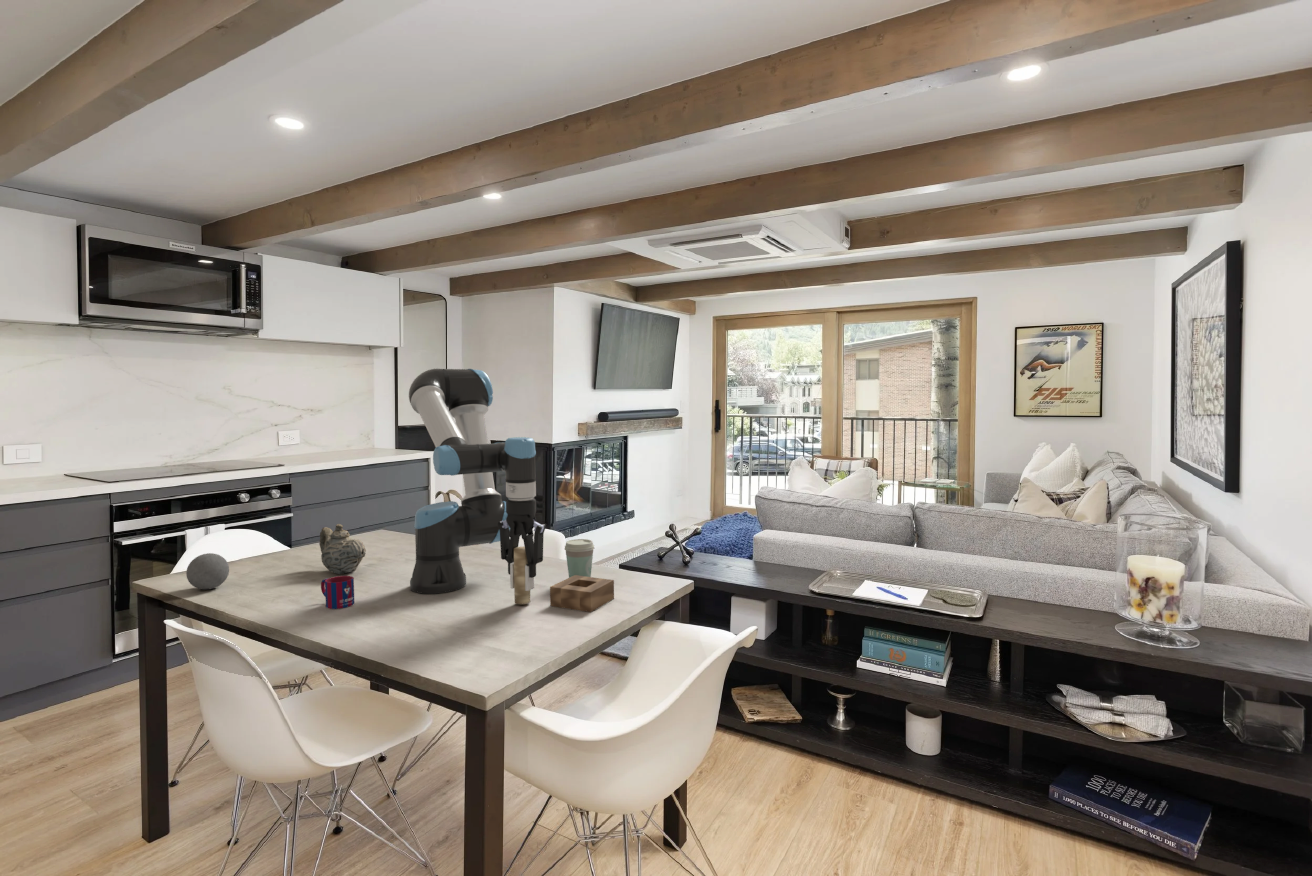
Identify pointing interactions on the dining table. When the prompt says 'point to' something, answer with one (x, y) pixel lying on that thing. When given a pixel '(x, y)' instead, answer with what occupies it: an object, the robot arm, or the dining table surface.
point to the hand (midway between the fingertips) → (522, 588)
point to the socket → (582, 593)
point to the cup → (338, 591)
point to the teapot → (340, 550)
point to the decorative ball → (207, 571)
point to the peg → (520, 576)
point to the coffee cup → (579, 557)
